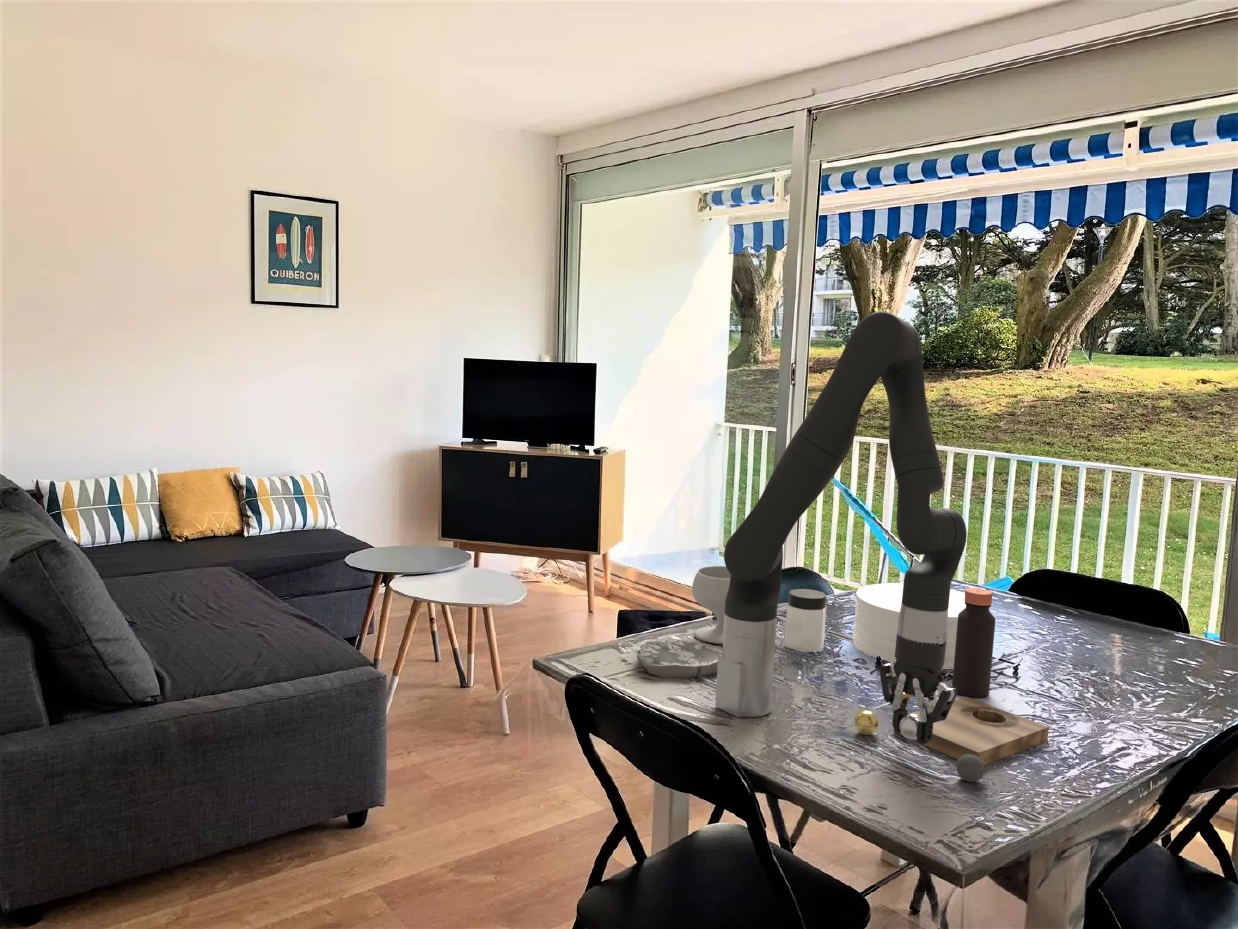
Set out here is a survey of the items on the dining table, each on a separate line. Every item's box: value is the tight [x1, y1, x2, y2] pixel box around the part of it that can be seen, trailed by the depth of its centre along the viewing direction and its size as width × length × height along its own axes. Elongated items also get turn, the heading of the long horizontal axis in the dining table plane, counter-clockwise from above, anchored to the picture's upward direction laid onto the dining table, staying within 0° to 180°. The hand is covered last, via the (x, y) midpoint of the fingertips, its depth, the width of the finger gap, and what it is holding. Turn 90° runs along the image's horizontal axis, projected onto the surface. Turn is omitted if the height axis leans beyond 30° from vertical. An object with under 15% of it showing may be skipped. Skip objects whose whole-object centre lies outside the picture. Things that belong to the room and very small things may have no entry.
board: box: [895, 696, 1050, 766], centre depth 157 cm, size 20×16×2 cm
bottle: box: [951, 587, 996, 699], centre depth 178 cm, size 7×7×20 cm
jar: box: [784, 588, 827, 653], centre depth 203 cm, size 9×8×12 cm
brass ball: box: [853, 709, 879, 736], centre depth 157 cm, size 4×4×4 cm
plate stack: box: [852, 582, 991, 669], centre depth 204 cm, size 28×28×12 cm
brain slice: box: [636, 638, 723, 679], centre depth 188 cm, size 20×17×3 cm
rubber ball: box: [956, 754, 985, 783], centre depth 140 cm, size 4×4×4 cm
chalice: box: [691, 565, 731, 645], centre depth 207 cm, size 14×14×15 cm
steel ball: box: [899, 713, 921, 741], centre depth 148 cm, size 4×4×4 cm
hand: (911, 736), depth 148 cm, fingers closed on steel ball, 4 cm apart
